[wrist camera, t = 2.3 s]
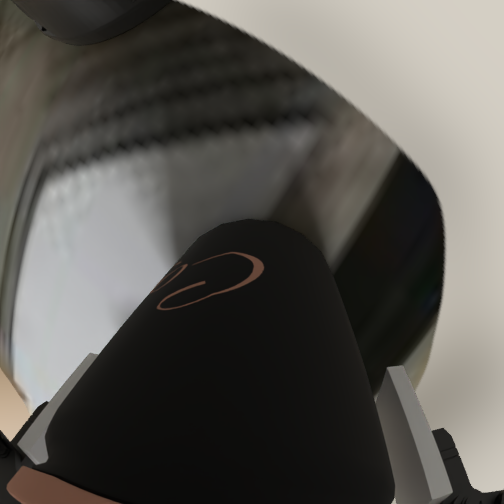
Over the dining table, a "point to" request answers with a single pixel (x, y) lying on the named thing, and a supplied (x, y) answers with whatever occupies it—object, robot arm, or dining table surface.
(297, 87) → the dining table surface
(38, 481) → the coffee jar
